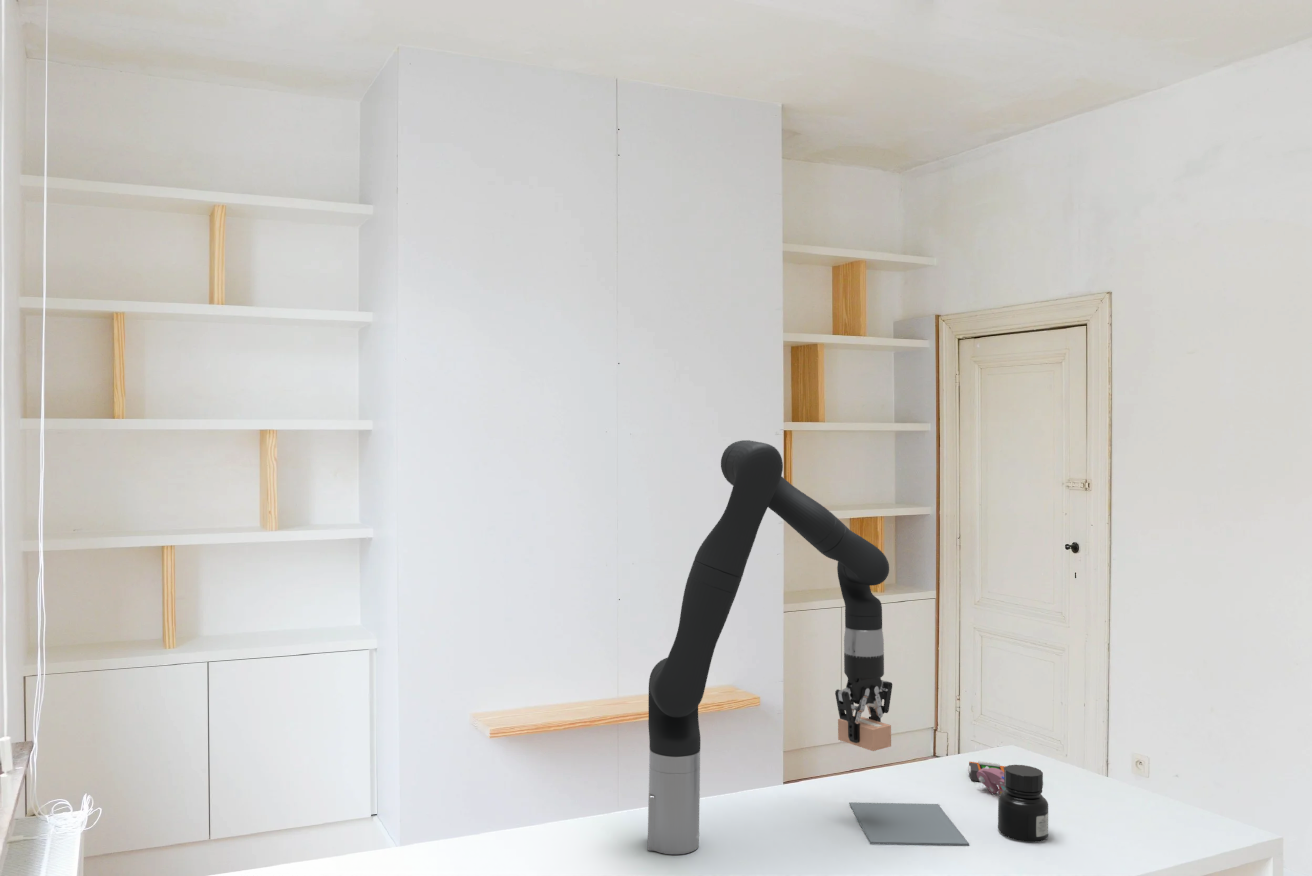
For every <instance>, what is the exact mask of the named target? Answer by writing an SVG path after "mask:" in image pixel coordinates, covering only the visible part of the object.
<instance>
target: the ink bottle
mask: <svg viewBox="0 0 1312 876" xmlns="http://www.w3.org/2000/svg"><path fill="white" fill-rule="evenodd" d="M1005 766H1006V767H1005V768H1004V784H1005V785H1004V787H1005V790H1004V792H1002V793H1001V794H1000V795H999V794H998V800H997V801H998V804H997V829H998V832H999V833H1000V834H1001V835H1003V837H1006V838H1008V839H1011V840H1014V841H1018V842H1019V841H1020V842H1027V843H1040V842H1043V841H1046V840H1047V839H1048V837H1049V802H1048V800H1047V799H1046V798H1045V797H1044V795H1042V793H1043V784H1044V779H1043V778H1044V775H1043V774H1044V773H1043V771H1042V770H1041V769H1039V768H1036V767H1035V766H1030V765H1025V764H1024V765H1023V764H1008V765H1005Z"/></svg>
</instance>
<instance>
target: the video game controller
mask: <svg viewBox="0 0 1312 876" xmlns="http://www.w3.org/2000/svg"><path fill="white" fill-rule="evenodd" d="M977 777H978V779H979V781H978V782H979V783H981V784H983V786H984V787H986V788H987V790H988V792H989V793H991V794H992V793H993V795H995V794H997V793H998V796H999V795H1000V794H1001V793H1002V792H1004V790H1005V787H1004V785H1005V784H1004V772H1003V771H1002V770H1000V769H997V768H989V767H988V766H986V767H985V768H982V769H981V770H979V771H978V772H977Z"/></svg>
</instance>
